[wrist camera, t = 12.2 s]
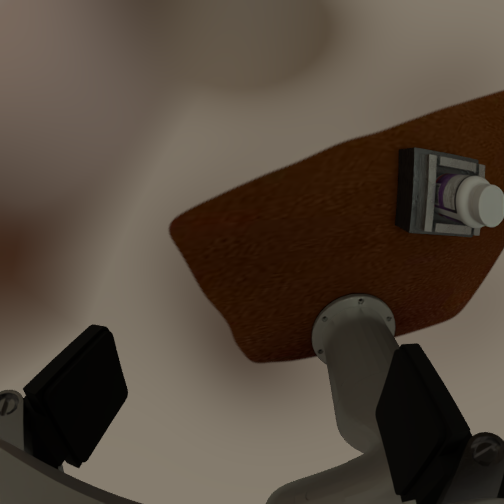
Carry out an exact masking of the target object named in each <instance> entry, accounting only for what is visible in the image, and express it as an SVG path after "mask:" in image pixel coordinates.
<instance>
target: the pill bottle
mask: <svg viewBox="0 0 504 504" xmlns="http://www.w3.org/2000/svg"><path fill="white" fill-rule="evenodd" d="M434 210H435V212H436V213H437V214H438V215H440V216H442V217H444V218H447V219H449V220H452V221H455V222H458V223H460V224H463V225H465V226H468V227H471V228H481V227H483V226H488V227H495V226H497V225H498V224H499V223H500V222H501V221H502V219H503V217H504V194H503V192H502V191H501V189H500V188H499V187H497V186H495V185H490V184H489V182H488V181H487V180H485V179H484V178H482V177H480V176H473V175H461V174H448V173H446V174H442V175H440V176H438V177H437V178H436V188H435V202H434Z"/></svg>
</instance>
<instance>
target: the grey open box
mask: <svg viewBox="0 0 504 504" xmlns="http://www.w3.org/2000/svg"><path fill="white" fill-rule="evenodd" d="M446 173H448V174H461V175H473V176H480V177H482V178H484V179H485V165H480V164H478V160H476V159H471V158H467V157H462V156H458V155H453V154H448V153H443V152H437V151H432V150H426V149H420V148H407V149H400V150H399V173H398V194H397V208H396V220H395V225H396V226H398V227H400V228H402V229H404V230H405V231H407V232H409V233H421V234H436V235H450V236H463V237H472V235H479V234H480V228H471V227H468V226H465V225H463V224H460V223H458V222H455V221H452V220H449V219H447V218H444V217H442V216H440V215H438V214H437V213H436V212H435V210H434V202H435V188H436V178H437V177H438V176H440V175H442V174H446Z"/></svg>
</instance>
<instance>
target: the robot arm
mask: <svg viewBox="0 0 504 504" xmlns="http://www.w3.org/2000/svg"><path fill="white" fill-rule="evenodd" d="M359 299H361V300H359ZM324 316H326V317H324ZM394 333H395V320H394V316H393V314H392V312H391V310H390V309H389V307H388V306H387V305H386V303H384V302H383V301H382V300H381V299H379V298H377V297H375V296H372V295H368V294H350V295H347V296H343V297H341V298H339V299H337V300H335V301H333V302H332V303H330V304H329V305H327V306H326V307H325V308H324V309H323V310H322V311H321V313H320V314H319V315H318V317H317V318H316V320H315V323H314V325H313V329H312V345H313V348H314V351H315V353H316V355H317V356H318V358H319V359H320V360H321V361H323V362H324V363H325V364H327V367H328V373H329V379H330V385H331V391H332V397H333V403H334V410H335V415H336V422H337V426H338V430H339V432H340V434H341V436H342V437H343V438H344V440H345V441H347V443H348V444H350V445H351V446H352V447H354V448H355V449H357V450H359V451H361V452H362V453H364V454H363V455H361V456H359V457H357V458H355V459H352V460H350V461H348V462H347V463H344V464H342V465H340V466H337V467H334V468H331V469H328V470H326V471H323V472H320V473H317V474H314V475H311V476H308V477H305V478H302V479H299V480H296V481H293V482H290V483H288V484H285V485H284V486H282V487H280V488H278V489H277V490H276V491H275V492H273V494H271V496H270V497H269V498H268V500H267V503H266V504H504V441H503V440H502V439H501V438H500V437H499V436H497V435H495V434H493V433H488V432H482V433H478V434H476V435H474V436H472V434H471V433H470V428H469V426H468V425H467V423H466V421H465V419H464V417H463V416H462V414H461V412H460V410H459V409H458V407H457V405H456V403H455V401H454V400H453V398H452V396H451V395H450V393H449V391H448V390H447V388H446V386H445V385H444V383H443V381H442V380H441V378H440V377H439V375H438V373H437V372H436V370H435V368H434V367H433V365H432V364H431V362H430V360H429V359H428V357H427V356H426V354H425V353H424V351H423V350H422V348H421V347H420V345H419V344H402V345H401V346H400V347H399V345H398V344H397V342H396V340H395V338H394ZM23 390H24V392H25V394H26V396H25V398H23V397H22V395H21V394H20V393H19V392H17V391H14V390H4V391H1V392H0V504H142V503H138V502H135V501H132V500H129V499H126V498H123V497H120V496H118V495H115V494H112V493H109V492H107V491H104V490H102V489H99V488H97V487H94V486H92V485H90V484H87V483H85V482H83V481H80V480H78V479H76V478H74V477H72V476H70V475H67V474H65V473H64V471H63V466H62V463H63V462H64V460H65V461H66V462H67V463H69V464H71V465H73V466H75V467H77V468H79V467H80V466H81V464H82V462H86V461H87V460H88V459H89V457H90V455H91V454H92V452H93V451H94V449H95V447H96V446H97V444H98V443H99V441H100V439H101V438H102V436H103V435H104V433H105V432H106V430H107V428H108V427H109V425H110V424H111V422H112V420H113V419H114V417H115V416H116V414H117V413H118V411H119V410H120V408H121V406H122V405H123V403H124V402H125V400H126V398H127V395H128V389H127V386H126V383H125V379H124V376H123V372H122V369H121V365H120V361H119V357H118V354H117V350H116V346H115V341H114V337H113V334H112V333H111V332H110V331H109V329H108V328H107V327H104V326H99V325H91V326H89V327H88V328H87V329H86V330H85V331H84V332H83V333H81V334H80V335H79V336H78V337H77V338H76V339H75V340H74V341H73V342H71V343H70V344H69V345H68V346H67V347H66V348H65V349H64V350H63V351H62V352H61V353H60V354H59V355H57V356H56V357H55V358H54V359H53V360H52V361H51V362H50V363H49V364H48V365H47V366H46V367H45V368H44V369H43V370H42V371H41V372H39V374H37V375H36V376H35V377H34V378H33V379H32V380H31V381H30V382H29V383H28V384H27V385H26V386H25V387H24V388H23Z"/></svg>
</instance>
